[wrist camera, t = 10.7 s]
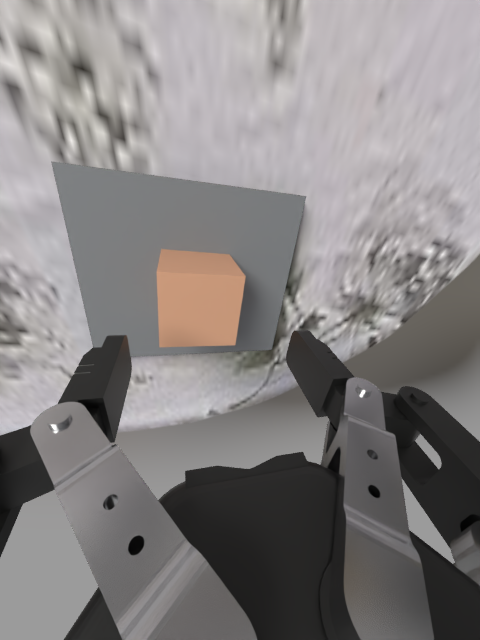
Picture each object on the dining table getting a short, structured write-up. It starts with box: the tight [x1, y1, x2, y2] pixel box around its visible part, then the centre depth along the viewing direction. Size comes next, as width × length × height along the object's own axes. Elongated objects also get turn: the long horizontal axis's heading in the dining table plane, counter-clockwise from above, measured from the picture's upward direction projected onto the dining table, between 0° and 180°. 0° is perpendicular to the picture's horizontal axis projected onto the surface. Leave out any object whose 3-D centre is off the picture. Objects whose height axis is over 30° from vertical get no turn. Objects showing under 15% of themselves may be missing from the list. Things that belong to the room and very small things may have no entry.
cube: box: [157, 249, 246, 347], centre depth 17 cm, size 5×5×5 cm
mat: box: [52, 162, 306, 357], centre depth 19 cm, size 16×14×2 cm
